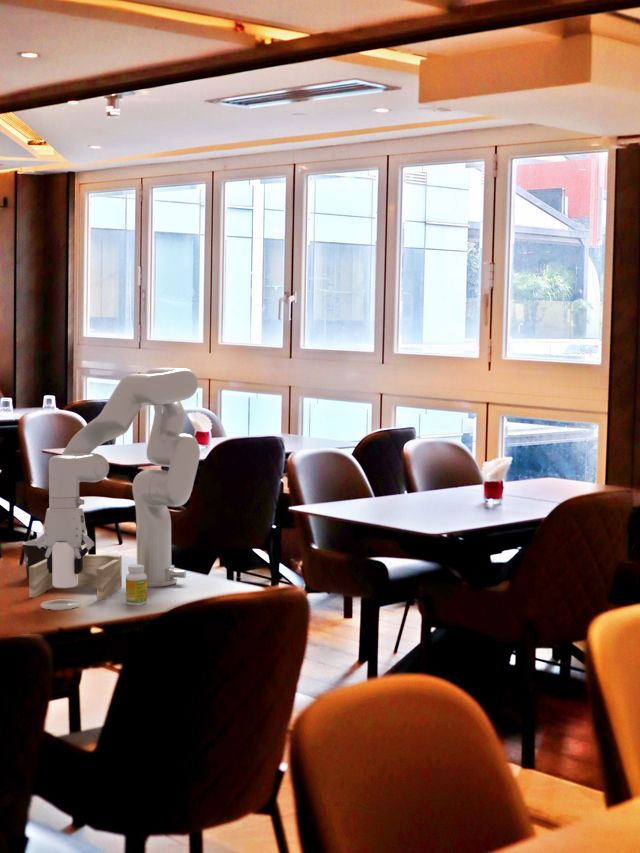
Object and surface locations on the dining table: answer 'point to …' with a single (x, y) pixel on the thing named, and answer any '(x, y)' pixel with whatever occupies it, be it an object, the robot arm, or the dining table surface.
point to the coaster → (60, 604)
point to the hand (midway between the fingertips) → (64, 572)
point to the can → (63, 566)
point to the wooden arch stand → (82, 575)
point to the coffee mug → (32, 554)
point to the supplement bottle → (136, 585)
